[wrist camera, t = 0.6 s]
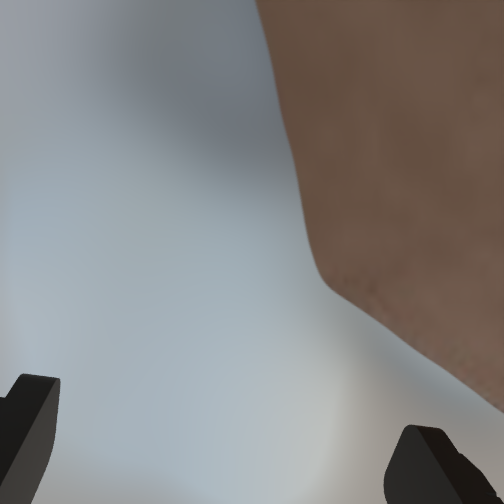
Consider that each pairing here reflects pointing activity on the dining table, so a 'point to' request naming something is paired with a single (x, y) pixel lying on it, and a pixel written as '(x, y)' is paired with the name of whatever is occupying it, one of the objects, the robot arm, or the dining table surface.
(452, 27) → the dining table surface
